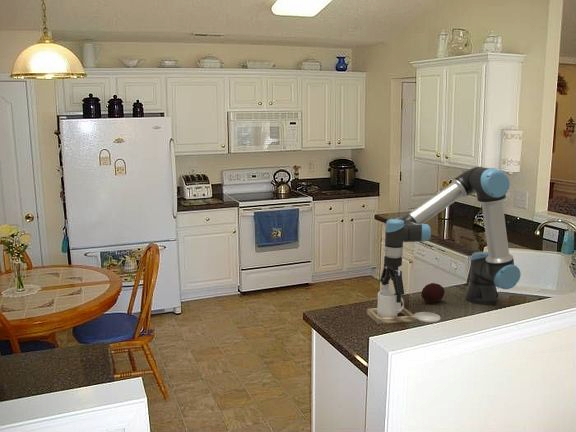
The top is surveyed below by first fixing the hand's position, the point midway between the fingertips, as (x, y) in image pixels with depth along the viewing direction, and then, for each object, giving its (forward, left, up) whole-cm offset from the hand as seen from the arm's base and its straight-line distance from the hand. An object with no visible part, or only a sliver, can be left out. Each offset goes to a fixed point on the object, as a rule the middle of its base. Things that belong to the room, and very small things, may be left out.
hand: (390, 304), depth 235 cm
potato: (-27, -15, -6) cm, 32 cm away
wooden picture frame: (0, 0, -6) cm, 6 cm away
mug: (0, 0, -6) cm, 6 cm away
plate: (-15, +4, -6) cm, 17 cm away
